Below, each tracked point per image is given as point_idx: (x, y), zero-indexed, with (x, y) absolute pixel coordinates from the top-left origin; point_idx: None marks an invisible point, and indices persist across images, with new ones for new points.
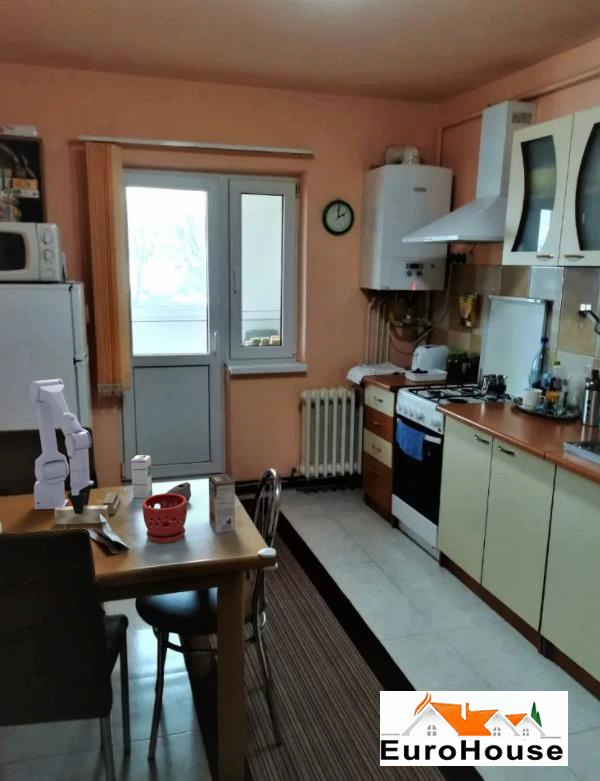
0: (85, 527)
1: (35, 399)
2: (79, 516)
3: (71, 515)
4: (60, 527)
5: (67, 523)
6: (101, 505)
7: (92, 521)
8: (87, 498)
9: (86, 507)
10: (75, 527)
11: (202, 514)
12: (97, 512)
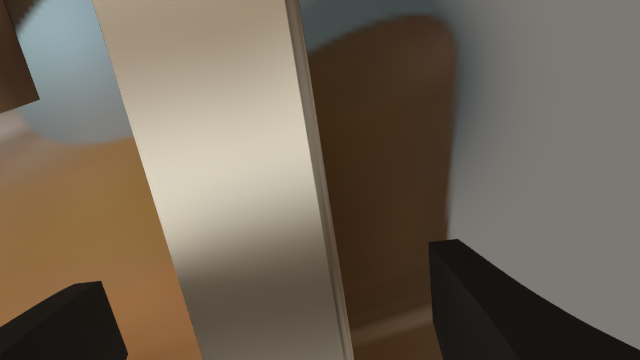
0: (444, 128)
1: None
2: (334, 265)
3: (348, 351)
4: (434, 348)
5: (348, 326)
6: (103, 30)
7: (313, 99)
8: (26, 356)
9: (248, 255)
10: (439, 227)
11: None
12: (297, 43)
